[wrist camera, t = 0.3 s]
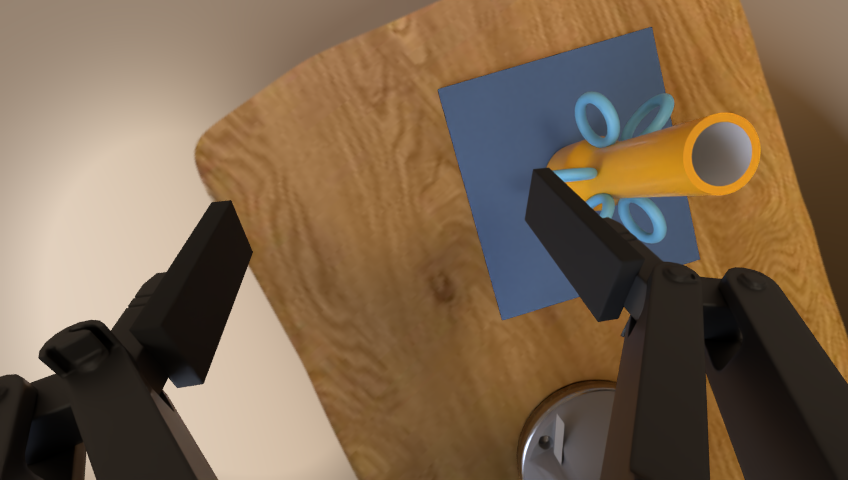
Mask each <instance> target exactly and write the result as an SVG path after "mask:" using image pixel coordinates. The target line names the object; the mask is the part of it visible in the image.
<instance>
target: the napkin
mask: <svg viewBox="0 0 848 480" xmlns="http://www.w3.org/2000/svg"><path fill="white" fill-rule="evenodd" d="M586 92H598V93H600V94H602V95H604V96H605V97H606V98H607V99H608V100H609V101H610V102H611V103H612V105H613V106H614V108H615V110H616V112H617V114H618V117H619V121H620V133H619V137H618V139H617V140H618V141H621V134H622V131H623V129H624V127H625V125H626V124H627V122H628V121H629V119H630V118H631V116H632V115H633V114H634V113H635V112H636V111H637V110H638V108H639V107H641V106H642V105H643V104H644V103H645V102H646V101H648V100H649V99H650V98H652V97H654V96H656V95H658V94H663V93H665V88H664V83H663V78H662V73H661V69H660V64H659V59H658V54H657V49H656V44H655V40H654V35H653V30H652V27H649V28H646V29H642V30H639V31H636V32H632V33H629V34H625V35H622V36H619V37H615V38H612V39H608V40H605V41H601V42H598V43H595V44H591V45H588V46H584V47H581V48H577V49H574V50H571V51H567V52H564V53H560V54H557V55H553V56H550V57H547V58H543V59H540V60H536V61H533V62H529V63H526V64H523V65H519V66H516V67H512V68H509V69H505V70H502V71H499V72H495V73H492V74H488V75H485V76H481V77H478V78H475V79H471V80H468V81H464V82H461V83H457V84H454V85H451V86H447V87H444V88H440V89H438V93H439V96H440V100H441V103H442V107H443V110H444V114H445V118H446V121H447V125H448V128H449V132H450V135H451V139H452V143H453V146H454V150H455V153H456V157H457V160H458V164H459V168H460V171H461V175H462V178H463V182H464V185H465V189H466V193H467V196H468V200H469V203H470V207H471V210H472V214H473V217H474V221H475V225H476V228H477V232H478V235H479V239H480V242H481V246H482V250H483V253H484V257H485V260H486V264H487V267H488V271H489V275H490V278H491V282H492V285H493V289H494V292H495V296H496V300H497V303H498V307H499V310H500V314H501V317H502V320H506V319H509V318H512V317H515V316H519V315H522V314H525V313H528V312H531V311H535V310H538V309H541V308H544V307H548V306H551V305H554V304H557V303H561V302H564V301H567V300H570V299H573V298H577V297H580V296H579V295H578V293H577V292H576V291H575V289H574V288H573V286H572V285H571V284H570V282H569V281H568V279H567V278H566V277H565V275H564V274H563V273H562V271H561V270H560V268H559V267H558V266H557V264H556V263H555V261H554V260H553V259H552V257H551V256H550V254H549V253H548V252H547V250H546V249H545V248H544V246H543V245H542V243H541V242H540V241H539V239H538V238H537V236H536V235H535V234H534V232H533V231H532V229H531V228H530V227H529V225H528V224H527V223H526V221H525V214H526V208H527V202H528V196H529V190H530V184H531V178H532V172H533V169H539V168H546V167H547V165H548V162H549V161H550V159H551V158H552V156H553V155H554V154H555V153H556V152H557V151H559V150H560V149H562V148H564V147H566V146H568V145H571V144H574V143H576V142H579V141H582V140H585V138H584V137H583V136H582V134H581V132H580V131H579V128H578V126H577V123H576V119H575V105H576V102H577V100H578V99H579V97H580V96H581V95H583V94H584V93H586ZM659 109H660V106H657V107H656V108H654V109H653V110H651V111H650V112H649V113H648V114H647V115H646V116H645V117H644V118H643V119H642V120H641V122H640V123H639V124H638V126H637V127H636V129H635V131H634V133H633V136H632V138H634V137H636V136H638V135H639V134H640V133H642V132H643V131H644V130H645V129H646V128H647V127H648V126H649V125H650V124H651V122H652V121H653V120H654V118H655V117H656V115H657V114H658V112H659ZM586 117H587V121H588V123H589V125H590V127H591V128H592V130H593V131H594V132H595V133H596V134H597V135H598V136H605V137H606V135H607V124H606V120H605V118H604V116H603V114H602V113H601V111H600V110H599V109H598V108H597V107H596V106H595V105H593V104H591V103H588V104H587V106H586ZM669 127H672V122H671V117H669V119H668V121H667V122H666V124H665V125H664V126H663V127H662V129H665V128H669ZM662 129H661V130H662ZM647 198H649V199H650V200H651V201H653V202H654V203H655V204H656V206H657V207H658V208H659V209H660V211H661V212H662V214H663V216H664V218H665V221H666V226H667V232H666V235H665V237H664V239H663V240H662V241H660V242H658V243H654V244H650V243H645V242H643V241H641V240H640V241H641V242H642V243H643V244H644V245H646V246H647V247H648V248H649V249H650V250H651V251H652V252H653V253H654V254H656V255H657V256H658V257H659V258H660V259H661V260H662V261H663V262H674V263H679V264H681V265H683V264H687V263H690V262H693V261H696V260H699V259H700V257H699V252H698V247H697V242H696V237H695V233H694V228H693V223H692V218H691V213H690V209H689V204H688V199H687V196H676V197H647ZM629 211H630V214H631V216H632V218H633V220H634V221H635V222H636V224H637V225H638V226H639V227H640V228H641V229H643V230H644V231H646V232H648V233H653V231H654V228H653V224H652V221H651V219H650V217H649V216H648V214H647V213H646V212H645V211H644V210H643V209H642V208H641V207H640V206H638V205H637V204H635V203H630V204H629ZM595 212H597V213H598V214H599V215H600V213H601V211H595ZM611 219H613V220H615V221H617V222H619V223H621V224H622V225H623V226H624V224H623V222H622V221H621V219H620V216H619V213H618V205H616V206H615V209H614V213H613V216H612V218H611ZM624 227H625V226H624ZM637 240H639V239H637Z"/></svg>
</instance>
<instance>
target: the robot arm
mask: <svg viewBox="0 0 848 480" xmlns="http://www.w3.org/2000/svg"><path fill="white" fill-rule="evenodd" d="M525 221H526V223H527V224H528V225H529V227H530V228H531V229H532V231H533V232H534V234H535V235H536V236H537V238H538V239H539V241H540V242H541V243H542V245H543V246H544V248H545V249H546V250H547V252H548V253H549V254H550V256H551V257H552V259H553V260H554V261H555V263H556V264H557V266H558V267H559V268H560V270H561V271H562V273H563V274H564V275H565V277H566V278H567V279H568V281H569V282H570V284H571V285H572V286H573V288H574V289H575V291H576V292H577V293H578V295H579V296H580V298H581V299H582V300H583V302H584V303H585V304H586V306H587V307H588V309H589V310H590V311H591V313H592V314H593V316H594V317H595V318H596V320H597V321H598V322H600V321H607V320H613V319H618V318H619V316H620V314H621V311H622V309H623V307H625V308H626V310H627V311H628V312H629V313H630V314H631V315H630V317H629V320H628V322H627V324H626V326H625V328H624V330H623V332H622V334H621V336H622V337H624V336H625V339H624V344H623V350H622V356H621V361H620V367H619V373H618V379H617V383H613V382H608V381H586V382H580V383H576V384H573V385H570V386H567V387H565V388H563V389H561V390H559V391H557V392H555V393H554V394H552V395H551V396H549V397H548V398H547V399H545V400H544V401H543V402H542V403H541V404H540V405H539V406H538V407H537V408H536V409H535V410H534V412H533V413H532V414H531V416H530V417H529V419H528V420H527V422H526V424H525V426H524V428H523V430H522V433H521V435H520V439H519V442H518V448H517V467H518V473H519V476H520V479H521V480H710V469H709V444H708V420H707V396H706V374H707V377H708V380H709V383H710V385H711V388H712V391H713V393H714V396H715V399H716V402H717V404H718V407H719V410H720V413H721V415H722V418H723V421H724V424H725V426H726V429H727V432H728V434H729V437H730V440H731V443H732V445H733V448H734V451H735V454H736V456H737V459H738V462H739V464H740V467H741V470H742V473H743V475H744V478H745V480H848V384H847V382H846V381H845V379H844V378H843V377H842V375H841V374H840V372H839V371H838V369H837V368H836V367H835V365H834V364H833V362H832V361H831V359H830V358H829V357H828V355H827V354H826V352H825V351H824V350H823V348H822V347H821V345H820V344H819V342H818V341H817V340H816V338H815V337H814V335H813V334H812V332H811V331H810V330H809V328H808V327H807V325H806V324H805V322H804V321H803V320H802V318H801V317H800V315H799V314H798V313H797V311H796V310H795V308H794V307H793V305H792V304H791V303H790V301H789V300H788V298H787V297H786V295H785V294H784V293H783V291H782V290H781V288H780V287H779V286H778V285H777V284H776V283H775V282H774V281H773V280H772V279H771V278H769V277H767V276H766V275H764V274H763V273H760V272H758V271H755V270H751V269H747V268H736V267H735V268H731V269H729V270H728V271H727V272H726V274H725V275H724V277H723V278H722V279H716V278H706V277H700V276H699V275H698V274H697V273H696V272H695V271H693V270H692V269H690V268H688V267H687V266H684V265H681V264H679V263H674V262H663V261H662V260H661V259H660V258H659V257H658V256H657V255H656V254H654V253H653V252H652V251H651V250H650V249H649V248H648V247H647V246H646V245H644V244H643V243H642V242H641V241H640V240H637V237H636V236H634V235H633V234H632V233H630V231H629V230H628V229H627V228H626V227H624V226H623V225H622V224H621V223H619V222H617V221H615V220H613V219H611V218H609V217H605V218H602V217H601V216H600V215H599V214H598V213H597V212H595V211H594V210H593V209H592V208H591V207H590V206H589V205H588V204H587V203H586V202H585V201H584V200H583V199H582V198H581V197H580V196H579V195H577V194H576V193H575V192H574V191H573V190H572V189H571V188H570V187H569V186H568V185H567V184H566V183H565V182H564V181H563V180H562V179H561V178H560V177H558V176H557V175H556V174H555V173H554V172H553V171H552V170H551V169H550V168H539V169H533V172H532V178H531V184H530V190H529V196H528V202H527V208H526V214H525ZM252 253H253V251H252V249H251V247H250V244H249V242H248V239H247V237H246V235H245V232H244V230H243V227H242V225H241V223H240V220H239V218H238V216H237V213H236V211H235V208H234V206H233V204H232V201H231V200H230V201H221V202H212V203H211V204H210V206H209V207H208V209H207V211H206V212H205V214H204V215H203V217H202V218H201V220H200V221H199V223H198V224H197V226H196V227H195V229H194V231H193V232H192V234H191V235H190V237H189V238H188V240H187V241H186V243H185V244H184V246H183V247H182V249H181V251H180V252H179V254H178V255H177V257H176V258H175V260H174V261H173V263H172V264H171V266H170V268H169V269H168V271H167V272H164V273H157V274H156V275H154V276H153V277H152V278H151V279H149V280H148V281H147V282H146V283H144V284H143V285H142V287H141V288H140V290H139V291H138V293H137V294H136V296H135V298H134V299H133V300H132V301H131V303H130V304H129V305H128V307H129V308H126V310H125V311H124V313H123V314H122V315H121V317H120V318H119V320H118V321H117V323H116V324H115V325H114V327H113V328H112V330H111V331H110V330H109V329H108V327H107V326H106V325H105V324H104V323H102V322H101V321H98V320H88V321H84V322H79V323H77V324H74V325H72V326H69V327H67V328H65V329H64V330H62V331H60V332H59V333H57V334H55V335H54V336H53V337H52V338H50V339H49V340H48V341H47V342H46V343H45V344H44V346H43V347H42V348H41V350H40V351H39V359H40V360H41V361H42V362H43V363H45V364H46V365H47V366H48V367H49V368H50V369H51V370H53V371H54V372H55V373H56V374H54V375H51V376H48V377H45V378H43V379H40V380H37V381H34V382H32V383H29V382H27V381H26V380H25V379H24V378H22V377H20V376H19V375H16V374H14V375H5V376H1V377H0V480H84V477H85V463H86V451H87V454H88V457H89V460H90V462H91V466H92V468H93V471H94V474H95V477H96V480H218V479H217V477H216V476H215V474H214V472H213V470H212V469H211V467H210V465H209V464H208V462H207V460H206V459H205V457H204V455H203V454H202V452H201V450H200V449H199V447H198V445H197V444H196V442H195V440H194V439H193V437H192V435H191V434H190V432H189V430H188V429H187V427H186V425H185V424H184V422H183V420H182V419H181V417H180V415H179V414H178V412H177V410H176V409H175V407H174V405H173V404H172V402H171V400H170V399H169V397H168V396H167V394H166V393H165V392H164V391H163V387H164V385H165V383H166V381H167V379H168V378H169V379H170V380H171V381H172V382H173V384H174V385H175V386H176V387H177V388H181V387H187V386H194V385H200V384H203V383H204V381H205V378H206V376H207V373H208V371H209V368H210V365H211V363H212V360H213V357H214V355H215V352H216V349H217V347H218V344H219V341H220V339H221V336H222V333H223V331H224V328H225V325H226V322H227V320H228V317H229V314H230V312H231V309H232V306H233V304H234V301H235V299H236V296H237V293H238V291H239V288H240V285H241V283H242V280H243V277H244V275H245V272H246V269H247V267H248V264H249V261H250V259H251V256H252Z"/></svg>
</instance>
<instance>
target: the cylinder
mask: <svg viewBox="0 0 848 480" xmlns="http://www.w3.org/2000/svg"><path fill="white" fill-rule="evenodd" d="M588 103H591V104H593V105H595V106H596V107H597V108H598V109H599V110H600V111H601V113H602V114H603V116H604V118H605V120H606V124H607V135H606V137H605V136H598V135H597V134H596V133H595V132H594V131H593V130H592V128H591V127H590V125H589V123H588V121H587V117H586V106H587V104H588ZM657 106H660V109H659V112H658V114H657V115H656V117H655V118H654V120H653V121H652V122H651V124H650V125H649V126H648V127H647V128H646V129H645V130H644V131H643V132H642V133H640V134H639V135H638V136H636V137H634V138H632V136H633V133H634V131H635V129H636V127H637V126H638V124H639V123H640V122H641V120H642V119H643V118H644V117H645V116H646V115H647V114H648V113H649V112H650V111H651V110H653V109H654V108H656V107H657ZM673 108H674V99H673V97H672V96H671V95H670V94H666V93H663V94H658V95H656V96H654V97H652V98H650V99H649V100H648V101H646V102H645V103H644V104H643V105H642V106H641V107H639V108H638V110H637V111H636V112H635V113H634V114H633V115H632V116H631V118H630V119H629V121H628V122H627V124H626V125H625V127H624V129H623V131H622V134H621V141H618V140H617V139H618V137H619V133H620V121H619V117H618V114H617V112H616V110H615V108H614V106H613V105H612V103H611V102H610V101H609V100H608V99H607V98H606V97H605V96H604V95H602V94H600V93H598V92H586V93H584V94H583V95H581V96H580V97H579V99H578V100H577V102H576V105H575V119H576V123H577V126H578V128H579V131H580V132H581V134H582V136H583V137H584V138H585V140H582V141H579V142H576V143H574V144H571V145H568V146H566V147H564V148H562V149H560V150H559V151H557V152H556V153H555V154H554V155H553V156H552V158H551V159H550V161H549V162H548V165H547V167H546V168H550V169H551V170H552V171H553V172H554V173H555V174H556V175H557V176H558V177H560V178H561V179H562V180H563V181H564V182H565V183H566V184H567V185H568V186H569V187H570V188H571V189H572V190H573V191H574V192H575V193H576V194H577V195H579V196H580V197H581V198H582V199H583V200H584V201H585V202H586V203H587V204H588V205H589V206H590V207H591V208H592V209H593V210H594V211H601V213H600V216H601V217H602V218H605V217H609V218H612V216H613V213H614V209H615V206H616V205H618V213H619V216H620V219H621V221H622V222H623V224H624V226H625V227H626V228H627V229H628V230H629V231H630V233H632V234H633V235H634V236H636V237H637V239H639V240H641V241H643V242H645V243H650V244H654V243H658V242H660V241H662V240H663V239H664V237H665V235H666V232H667V226H666V221H665V218H664V216H663V214H662V212H661V211H660V209H659V208H658V207H657V206H656V204H655V203H654V202H653V201H651V200H650V199H649V198H647V197H676V196H708V195H726V194H730V193H732V192H735V191H737V190H739V189H740V188H742V187H743V186H744V185H745V184H746V183H747V182H748V181H749V180H750V179H751V178H752V176H753V175H754V173H755V171H756V169H757V167H758V164H759V160H760V153H761V148H760V141H759V137H758V135H757V132H756V131H755V129H754V127H753V126H752V125H751V124H750V123H749V122H748V121H747V120H746V119H745V118H743V117H741V116H739V115H737V114H733V113H717V114H713V115H710V116H706V117H703V118H699V119H696V120H693V121H689V122H686V123H682V124H679V125H675V126H672V127H669V128H665V129H662V127H663V126H664V125H665V124H666V122H667V121H668V119H669V117H670V115H671V113H672V111H673ZM661 129H662V130H661ZM630 203H635V204H637V205H638V206H640V207H641V208H642V209H643V210H644V211H645V212H646V213H647V214H648V216H649V217H650V219H651V221H652V224H653V228H654V231H653V233H648V232H646V231H644V230H643V229H641V228H640V227H639V226H638V225H637V224H636V222H635V221H634V220H633V218H632V216H631V214H630V211H629V204H630Z"/></svg>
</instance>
